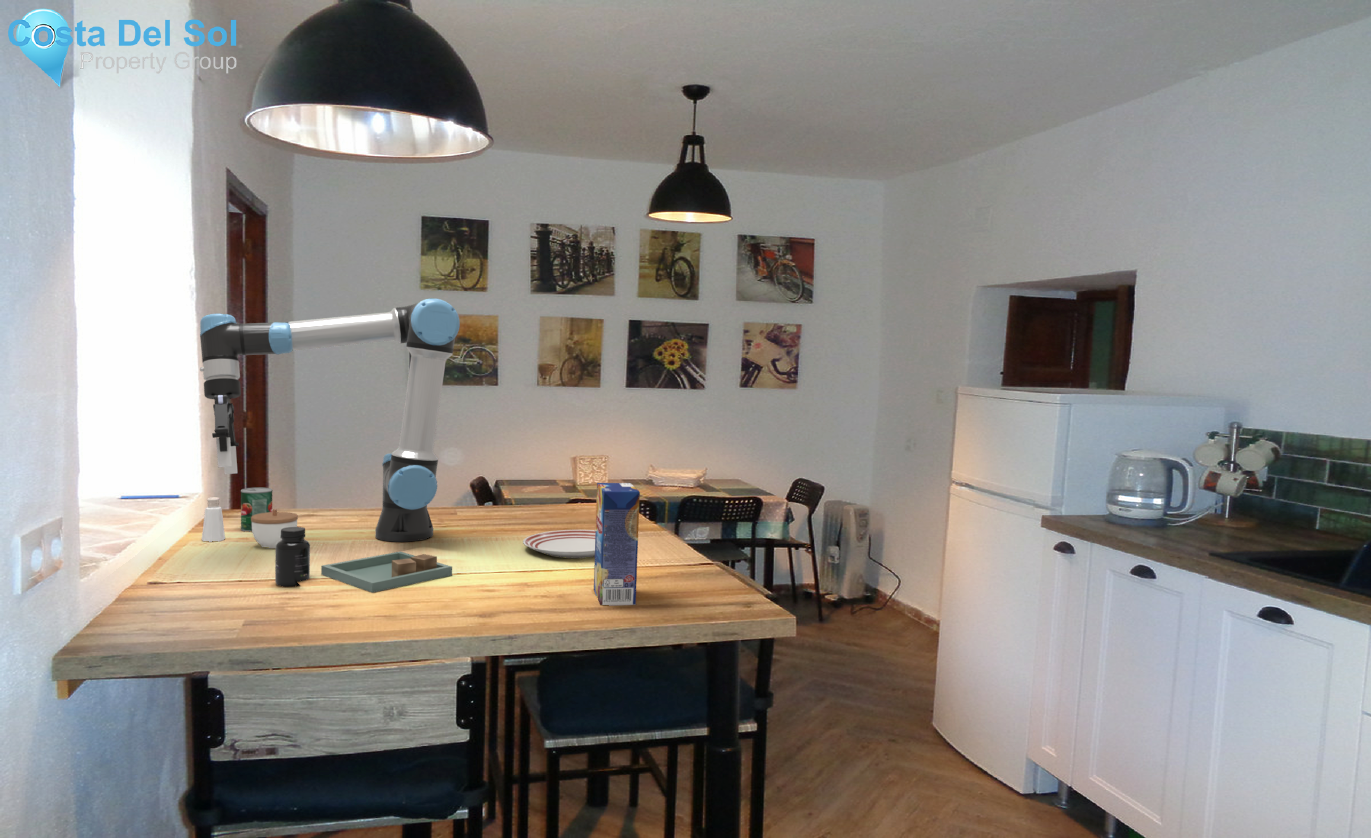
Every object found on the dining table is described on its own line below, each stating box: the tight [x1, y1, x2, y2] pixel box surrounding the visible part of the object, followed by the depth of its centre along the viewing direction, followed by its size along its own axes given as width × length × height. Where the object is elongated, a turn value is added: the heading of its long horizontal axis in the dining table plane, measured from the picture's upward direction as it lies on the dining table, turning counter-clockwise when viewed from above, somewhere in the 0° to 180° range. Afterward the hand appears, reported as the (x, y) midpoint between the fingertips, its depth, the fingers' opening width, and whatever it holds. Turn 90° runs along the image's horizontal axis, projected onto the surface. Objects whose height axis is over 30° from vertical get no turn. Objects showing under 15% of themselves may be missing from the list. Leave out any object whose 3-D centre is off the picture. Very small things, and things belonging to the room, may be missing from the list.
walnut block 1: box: [392, 558, 416, 577], centre depth 189 cm, size 4×4×4 cm
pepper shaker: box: [201, 496, 226, 543], centre depth 222 cm, size 5×5×11 cm
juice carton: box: [593, 482, 641, 606], centre depth 184 cm, size 12×8×24 cm, turn 13°
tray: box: [320, 550, 453, 594], centre depth 192 cm, size 20×20×3 cm
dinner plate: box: [522, 529, 596, 559], centre depth 227 cm, size 28×27×3 cm
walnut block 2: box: [411, 553, 438, 572], centre depth 193 cm, size 4×4×4 cm
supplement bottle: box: [274, 526, 311, 588], centre depth 186 cm, size 7×7×12 cm
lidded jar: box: [251, 508, 299, 549], centre depth 219 cm, size 11×11×9 cm
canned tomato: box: [240, 487, 273, 533], centre depth 237 cm, size 8×8×11 cm
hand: (228, 470), depth 197 cm, fingers open, 13 cm apart
